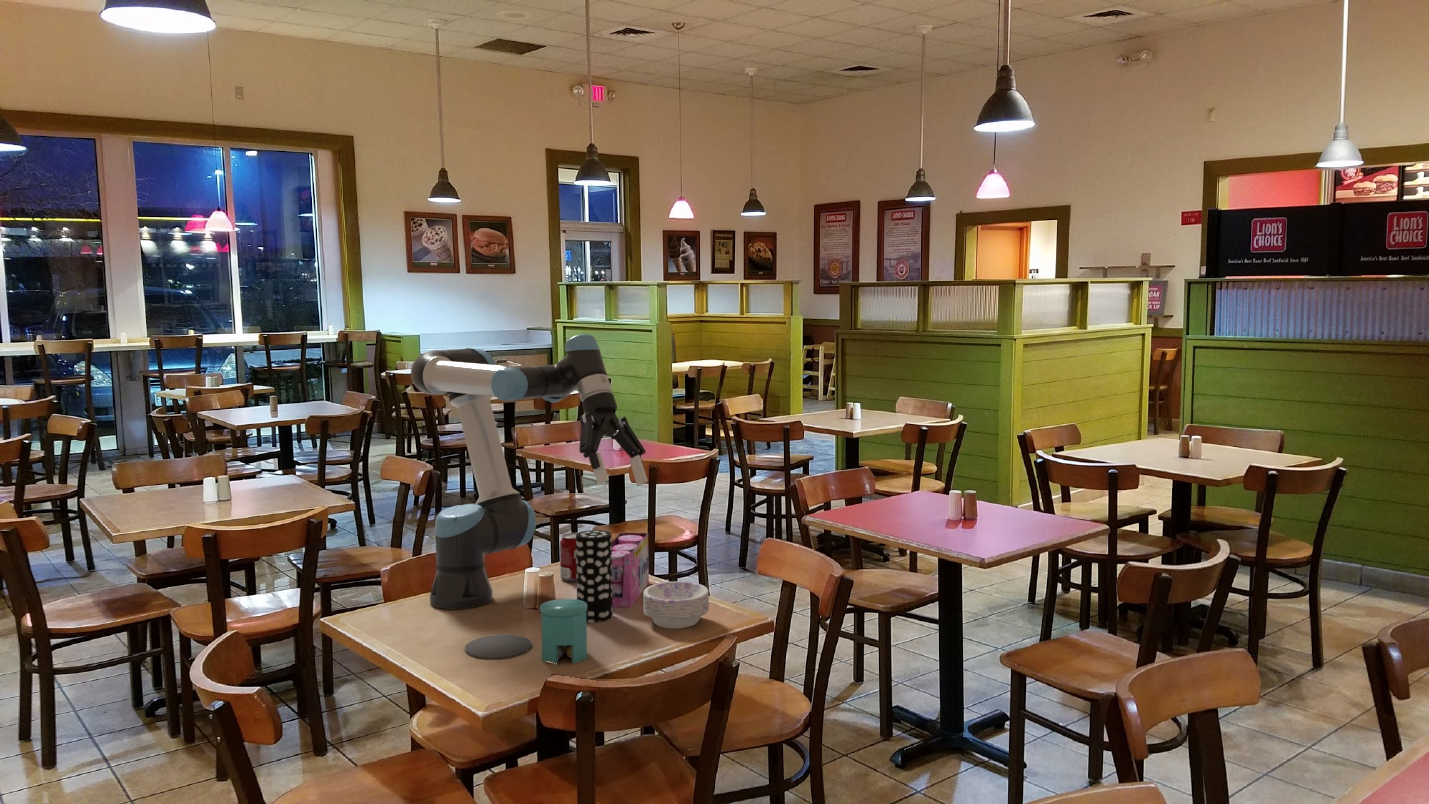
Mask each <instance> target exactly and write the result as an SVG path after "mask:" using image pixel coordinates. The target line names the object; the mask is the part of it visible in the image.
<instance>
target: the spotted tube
mask: <svg viewBox="0 0 1429 804" xmlns="http://www.w3.org/2000/svg"><path fill="white" fill-rule="evenodd" d="M576 533H577V534H576V573H577V581H576V599H577V600H581V601H584V602H586V603H587V611H586V623H601V622H606V621H609V620H611V619H612V618H613V614H614V613H613V607H612V541H613V539H612V532H611V531H608V530H601V529H595V530H594V529H591V530H582V531H579V532H576Z"/></svg>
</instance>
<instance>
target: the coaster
mask: <svg viewBox="0 0 1429 804" xmlns="http://www.w3.org/2000/svg"><path fill="white" fill-rule="evenodd" d="M464 647H465V648H464V650H465V653H466V654H467V655H468V656H470V657H473V658H477V659H483V660H501V659H507V658H512V657H517V656H520V655H522V654H525V653H526V651H527V650H528V651H529V650H530V649H531V648H532V641H531V639H530V638H527V637H525V636H522V635H519V634H517V635H516V634H506V633H505V634H502V633H501V634H492V635H485V636H481V637H478V638H476V639H473V640H471V641H469V642H468V643H466V645H465V646H464ZM528 651H527V652H528ZM524 652H525V653H524ZM519 654H520V655H519Z"/></svg>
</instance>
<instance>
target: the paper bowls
mask: <svg viewBox="0 0 1429 804" xmlns="http://www.w3.org/2000/svg"><path fill="white" fill-rule="evenodd" d="M642 593H643V597H642V599H643V614H644V615H645V616H646V617H650V618H652V619H651V620H652V621H653V623H654V624H655V625H657V626H658V627H660V628H662V629H663V628H664V629H669V630H679V629H687V628H690V626H691V627H693V626H695V625H697V623H698V622H699V621H700V619H701V617H702V616H704V615H706V614H707V613H708V612H709V610H710V596H709V594H710V592H709V589H708V587H707V586H705V585H703V584H700V583H698V582H691V581H666V582H665V581H664V582H659V583H658V582H657V583H654V584H652V585H649V586H648V587H647V586H646V588H645V589H644V590H643V592H642Z"/></svg>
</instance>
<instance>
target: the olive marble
mask: <svg viewBox="0 0 1429 804" xmlns="http://www.w3.org/2000/svg"><path fill="white" fill-rule="evenodd" d="M567 646H568V645H562V646H561V647H562V649H563V654H562V655H567V654H566V648H567Z"/></svg>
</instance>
